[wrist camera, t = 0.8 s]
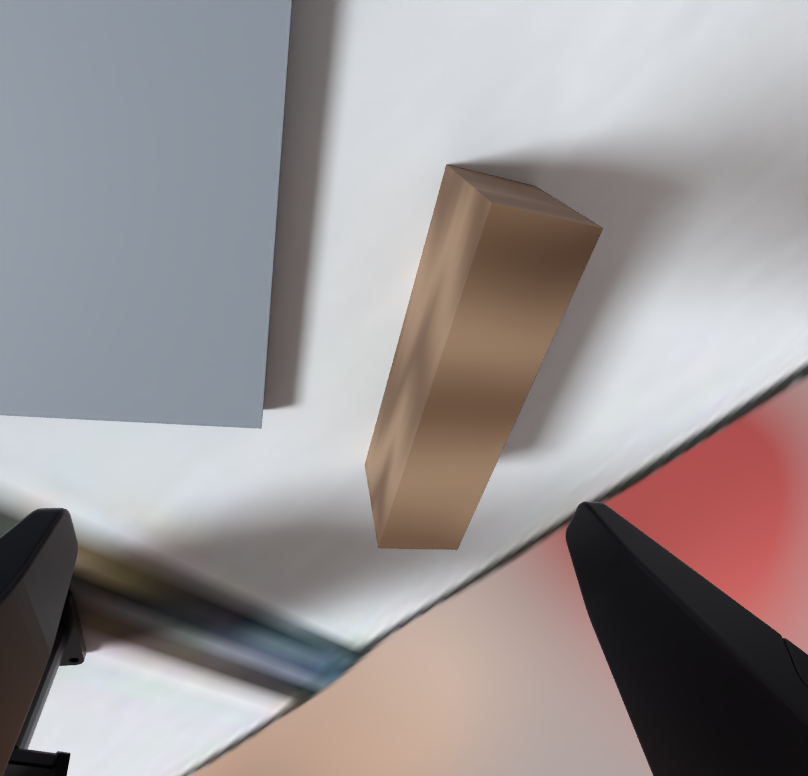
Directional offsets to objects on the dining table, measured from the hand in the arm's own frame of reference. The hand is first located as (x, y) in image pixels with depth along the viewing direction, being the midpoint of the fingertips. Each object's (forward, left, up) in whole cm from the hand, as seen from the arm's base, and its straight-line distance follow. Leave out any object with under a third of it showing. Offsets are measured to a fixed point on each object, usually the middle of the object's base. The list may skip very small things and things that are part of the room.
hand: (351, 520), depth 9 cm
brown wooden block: (-3, -5, -12) cm, 13 cm away
